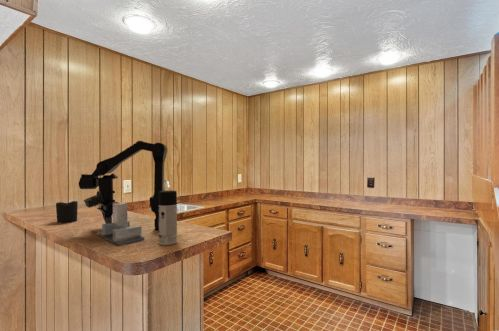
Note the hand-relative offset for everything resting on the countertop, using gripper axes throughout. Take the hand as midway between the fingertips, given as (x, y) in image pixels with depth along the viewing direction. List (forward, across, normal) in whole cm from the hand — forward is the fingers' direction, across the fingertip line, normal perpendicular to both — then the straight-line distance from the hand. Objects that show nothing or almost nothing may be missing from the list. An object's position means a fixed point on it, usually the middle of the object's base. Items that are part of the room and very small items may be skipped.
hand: (106, 223), depth 121 cm
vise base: (+3, +16, 0) cm, 16 cm away
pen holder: (+4, -35, -7) cm, 36 cm away
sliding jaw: (+2, +7, 0) cm, 8 cm away
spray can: (+4, +37, +9) cm, 39 cm away
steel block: (+2, +16, 0) cm, 16 cm away
